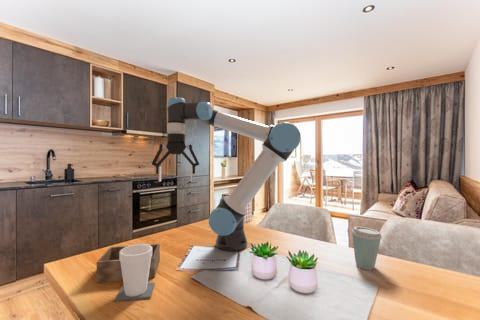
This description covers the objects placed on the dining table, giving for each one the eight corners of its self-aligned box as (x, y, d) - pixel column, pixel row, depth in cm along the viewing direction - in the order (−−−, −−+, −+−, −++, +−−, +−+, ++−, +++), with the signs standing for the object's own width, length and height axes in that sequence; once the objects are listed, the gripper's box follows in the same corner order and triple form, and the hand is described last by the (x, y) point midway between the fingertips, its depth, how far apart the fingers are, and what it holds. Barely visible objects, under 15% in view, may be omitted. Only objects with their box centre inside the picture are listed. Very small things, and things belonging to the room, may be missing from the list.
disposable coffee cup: (366, 259, 101) (367, 224, 101) (388, 271, 90) (388, 232, 90) (345, 261, 98) (345, 225, 98) (364, 274, 88) (365, 234, 88)
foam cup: (139, 301, 69) (140, 257, 69) (112, 297, 71) (112, 254, 71) (157, 284, 78) (157, 245, 78) (132, 281, 80) (133, 242, 80)
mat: (154, 284, 80) (154, 282, 80) (150, 298, 72) (150, 296, 72) (122, 287, 78) (122, 285, 78) (114, 302, 70) (114, 299, 70)
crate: (159, 260, 97) (159, 244, 97) (154, 277, 84) (154, 258, 84) (110, 264, 93) (110, 246, 93) (96, 282, 80) (96, 262, 80)
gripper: (204, 135, 111) (203, 180, 112) (148, 133, 106) (147, 180, 107) (205, 133, 104) (204, 181, 104) (144, 131, 99) (144, 182, 99)
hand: (175, 181), depth 105 cm, fingers open, 13 cm apart
